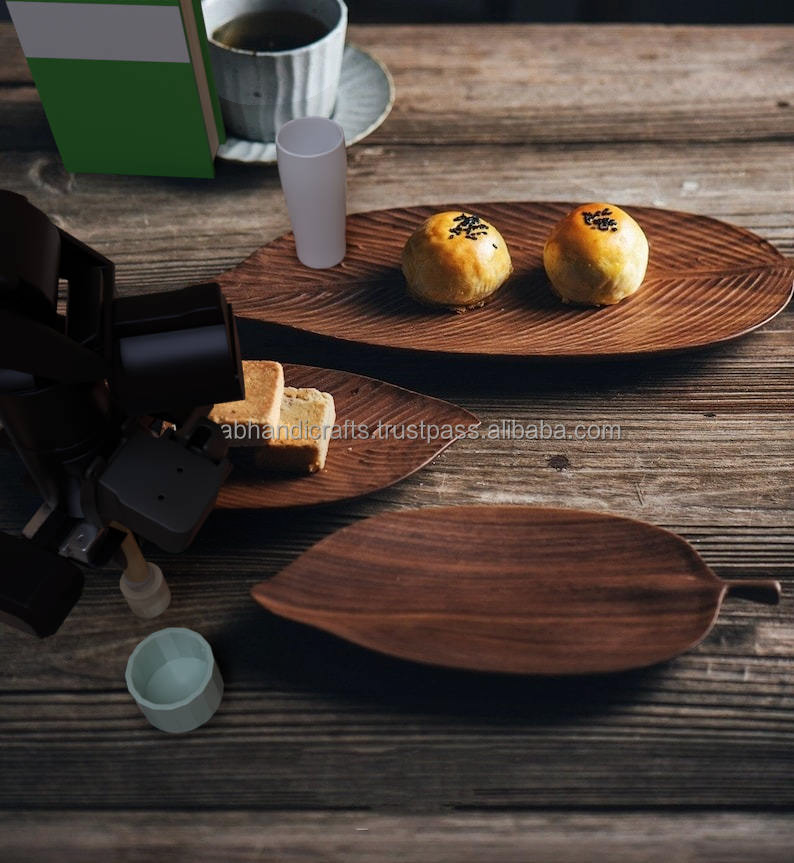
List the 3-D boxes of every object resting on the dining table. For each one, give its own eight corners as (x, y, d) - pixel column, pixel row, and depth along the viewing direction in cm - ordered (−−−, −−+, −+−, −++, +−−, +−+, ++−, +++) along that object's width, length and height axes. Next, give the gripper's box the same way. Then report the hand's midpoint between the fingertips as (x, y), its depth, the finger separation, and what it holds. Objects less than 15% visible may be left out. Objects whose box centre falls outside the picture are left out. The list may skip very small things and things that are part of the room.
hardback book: (227, 143, 113) (189, -60, 94) (214, 181, 108) (172, -24, 89) (86, 138, 114) (20, -65, 95) (67, 175, 110) (-6, -29, 91)
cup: (151, 747, 68) (134, 722, 64) (134, 672, 71) (118, 644, 68) (233, 717, 69) (222, 691, 65) (213, 645, 73) (201, 616, 69)
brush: (134, 624, 67) (96, 553, 59) (126, 589, 68) (88, 516, 61) (175, 610, 67) (143, 538, 60) (165, 576, 69) (133, 502, 61)
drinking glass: (324, 226, 103) (312, 106, 91) (366, 255, 100) (359, 134, 88) (277, 255, 100) (259, 135, 88) (319, 286, 97) (306, 166, 85)
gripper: (81, 604, 43) (156, 726, 56) (269, 334, 54) (297, 487, 66) (-106, 526, 46) (4, 658, 58) (107, 284, 56) (162, 439, 69)
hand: (128, 555), depth 63 cm, fingers closed on brush, 2 cm apart
